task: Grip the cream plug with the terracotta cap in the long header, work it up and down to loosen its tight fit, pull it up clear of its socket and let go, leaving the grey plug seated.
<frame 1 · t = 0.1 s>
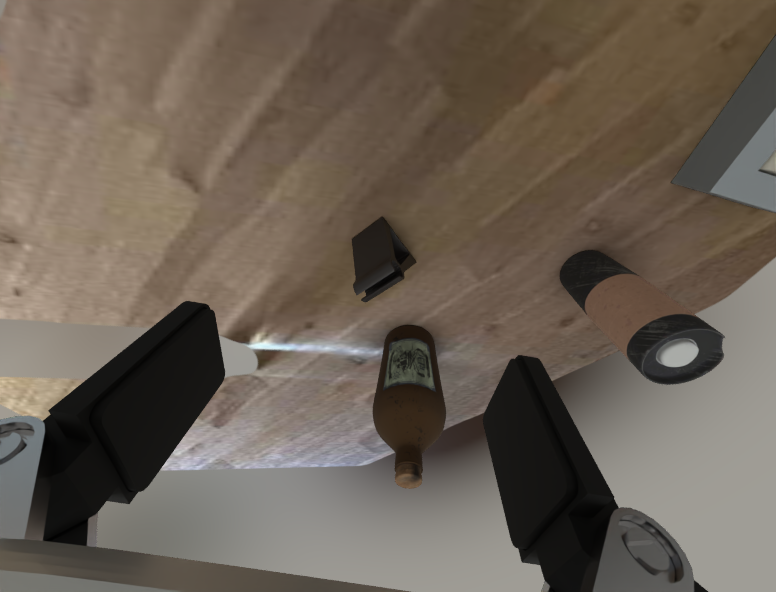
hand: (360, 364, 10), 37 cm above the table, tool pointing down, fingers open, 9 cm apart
travel mug: (582, 270, 47), on the table
olive oil: (409, 343, 57), on the table
dark wedge: (384, 249, 48), on the table
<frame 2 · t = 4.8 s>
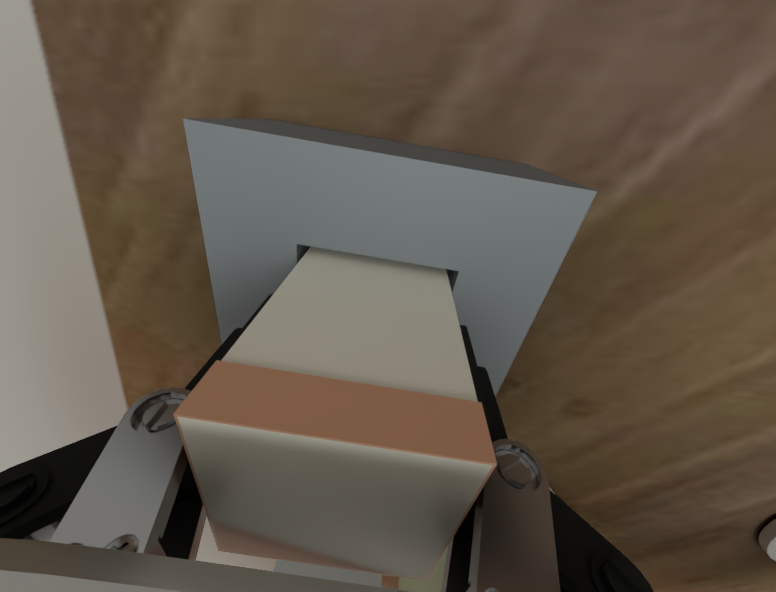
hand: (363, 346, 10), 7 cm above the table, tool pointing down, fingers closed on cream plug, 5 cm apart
cream plug: (366, 332, 11), point 7 cm above the table, slide at 0.0 cm, touching gripper
gift box: (485, 525, 32), on the table
header: (366, 354, 20), on the table
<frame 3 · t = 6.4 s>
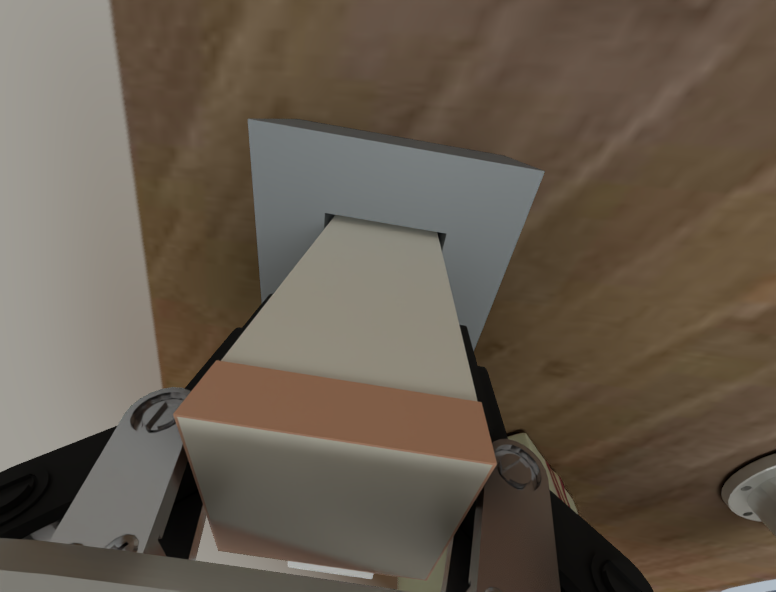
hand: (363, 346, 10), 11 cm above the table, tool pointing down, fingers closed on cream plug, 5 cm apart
cream plug: (366, 332, 11), point 10 cm above the table, slide at 3.9 cm, touching gripper
gift box: (478, 485, 35), on the table
header: (372, 320, 24), on the table
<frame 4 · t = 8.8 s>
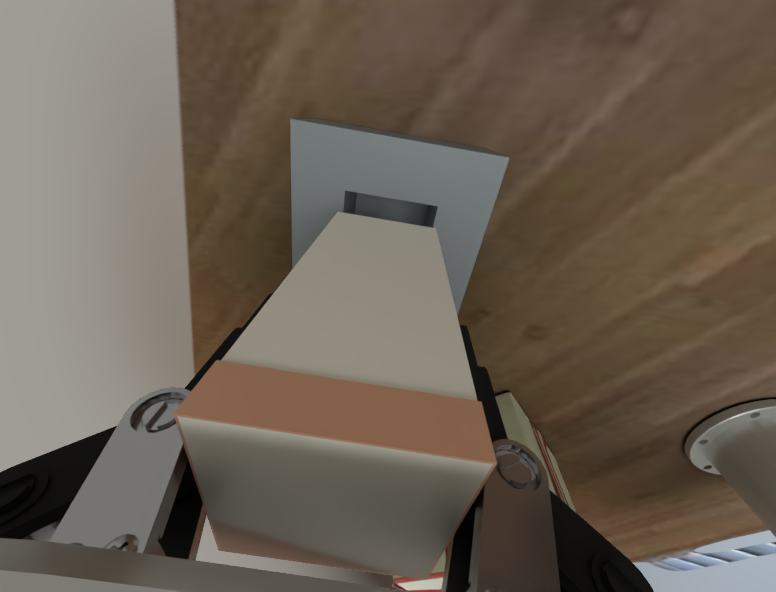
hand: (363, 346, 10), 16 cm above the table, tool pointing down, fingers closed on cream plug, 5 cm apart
cream plug: (366, 332, 11), point 15 cm above the table, slide at 8.8 cm, touching gripper
gift box: (470, 446, 39), on the table
header: (378, 290, 28), on the table
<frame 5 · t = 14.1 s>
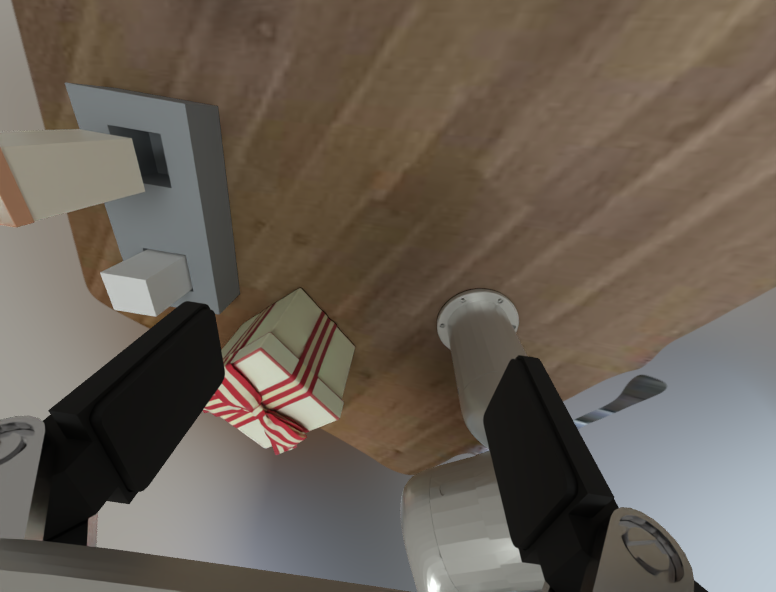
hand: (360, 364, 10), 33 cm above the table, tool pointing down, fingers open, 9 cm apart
cream plug: (52, 170, 25), point 16 cm above the table, slide at 8.9 cm
gift box: (296, 340, 53), on the table
header: (187, 207, 42), on the table
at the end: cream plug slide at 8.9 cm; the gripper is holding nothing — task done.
